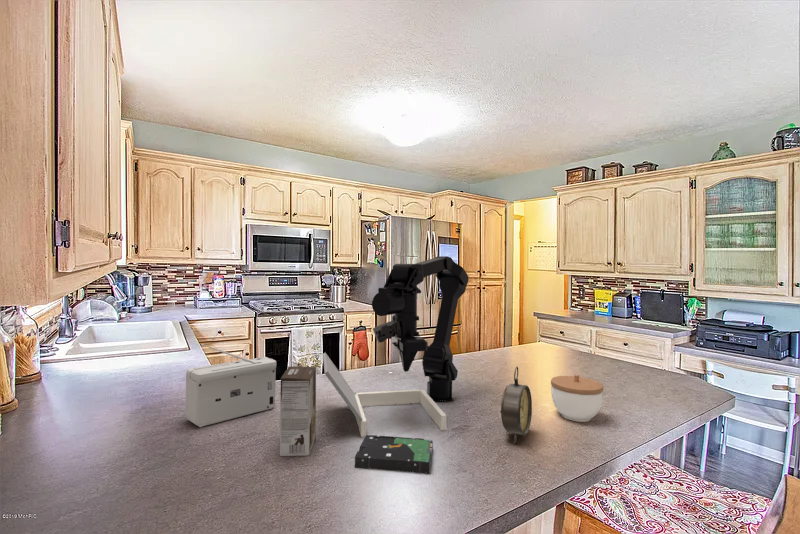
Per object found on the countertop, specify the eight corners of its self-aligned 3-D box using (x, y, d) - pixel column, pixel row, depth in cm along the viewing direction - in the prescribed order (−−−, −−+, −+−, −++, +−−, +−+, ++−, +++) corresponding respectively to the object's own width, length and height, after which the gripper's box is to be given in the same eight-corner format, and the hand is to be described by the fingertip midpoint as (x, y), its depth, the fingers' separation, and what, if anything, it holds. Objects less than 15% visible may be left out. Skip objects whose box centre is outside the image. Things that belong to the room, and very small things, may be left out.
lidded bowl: (598, 411, 107) (599, 371, 107) (606, 429, 95) (607, 384, 95) (549, 405, 111) (550, 366, 111) (551, 422, 99) (552, 378, 99)
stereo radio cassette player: (264, 401, 111) (266, 331, 111) (278, 409, 105) (279, 335, 105) (184, 421, 97) (185, 340, 97) (194, 431, 91) (196, 345, 91)
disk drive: (354, 471, 75) (431, 476, 74) (354, 457, 75) (431, 461, 74) (365, 447, 86) (433, 450, 84) (365, 434, 86) (432, 437, 84)
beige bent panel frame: (423, 401, 113) (423, 348, 113) (446, 430, 93) (447, 366, 93) (321, 407, 107) (322, 352, 107) (323, 439, 87) (324, 371, 87)
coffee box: (287, 437, 88) (288, 365, 88) (316, 436, 89) (317, 365, 89) (278, 456, 79) (279, 377, 79) (310, 456, 80) (311, 377, 80)
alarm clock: (520, 448, 85) (521, 373, 85) (496, 442, 88) (497, 369, 88) (532, 430, 94) (534, 363, 94) (510, 425, 97) (511, 360, 97)
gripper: (369, 308, 109) (369, 363, 109) (382, 318, 91) (382, 384, 91) (407, 307, 112) (407, 361, 112) (428, 316, 94) (428, 381, 94)
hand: (405, 371), depth 102 cm, fingers closed
